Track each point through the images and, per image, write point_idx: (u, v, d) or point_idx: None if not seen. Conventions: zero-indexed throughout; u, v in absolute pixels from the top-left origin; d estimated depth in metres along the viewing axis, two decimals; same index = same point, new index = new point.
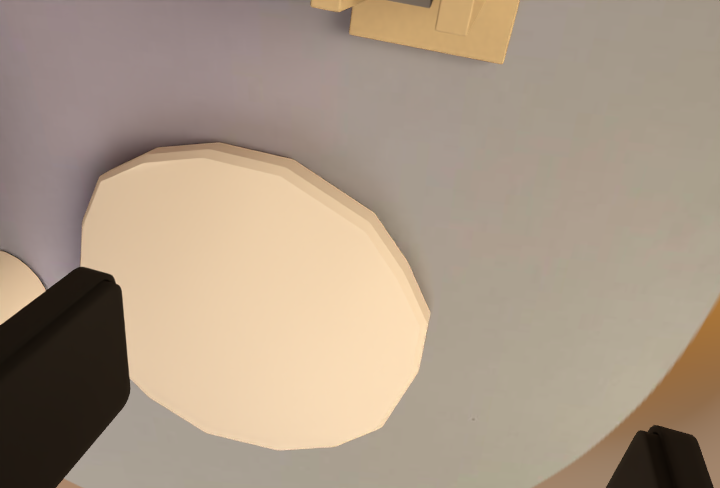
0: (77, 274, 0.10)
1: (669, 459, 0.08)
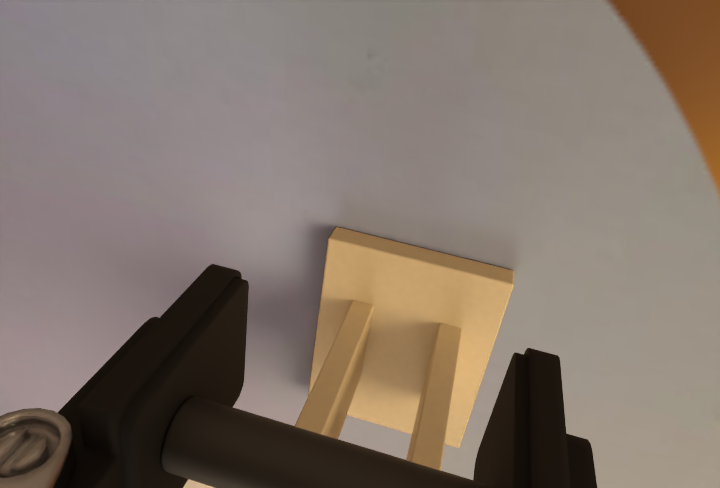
0: (212, 271, 0.10)
1: (530, 372, 0.09)
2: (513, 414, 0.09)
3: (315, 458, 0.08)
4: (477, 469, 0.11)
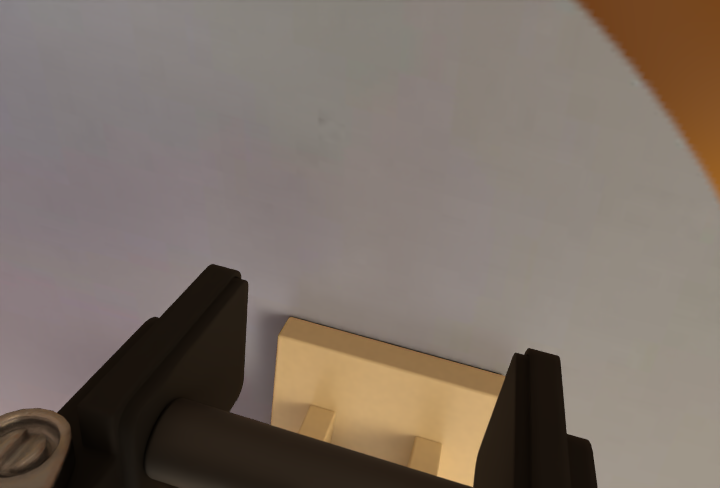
0: (212, 271, 0.10)
1: (531, 372, 0.09)
2: (514, 414, 0.09)
3: (315, 448, 0.08)
4: (477, 469, 0.11)
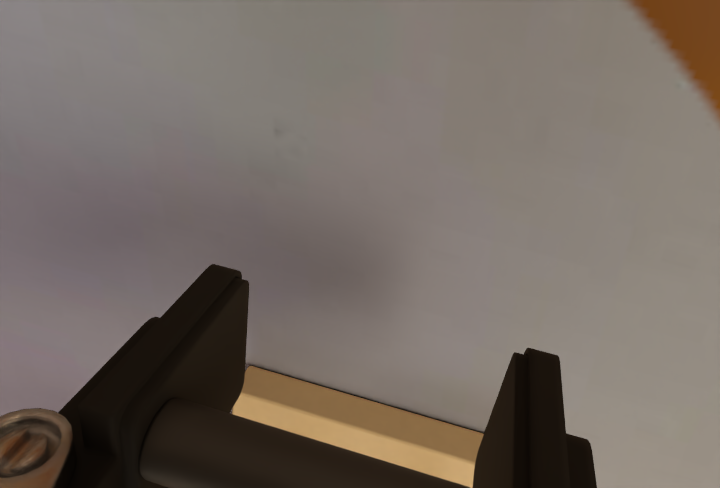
0: (212, 271, 0.10)
1: (530, 372, 0.09)
2: (513, 414, 0.09)
3: (317, 443, 0.08)
4: (477, 469, 0.11)
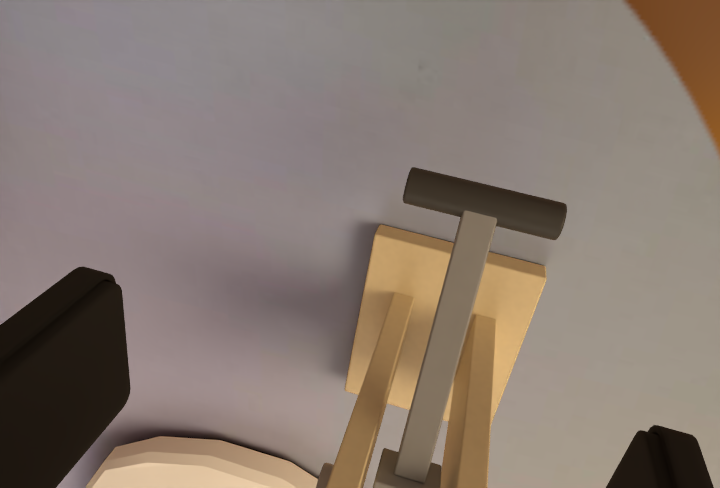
0: (77, 274, 0.10)
1: (669, 459, 0.08)
2: None
3: (481, 184, 0.18)
4: None
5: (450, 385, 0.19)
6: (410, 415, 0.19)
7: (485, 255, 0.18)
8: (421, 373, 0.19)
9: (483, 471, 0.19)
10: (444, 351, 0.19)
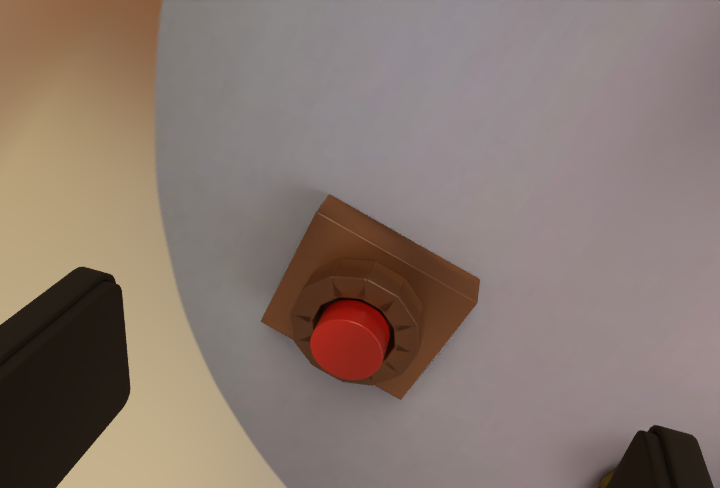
0: (77, 274, 0.10)
1: (669, 459, 0.08)
2: None
3: None
4: None
5: None
6: None
7: None
8: None
9: None
10: None
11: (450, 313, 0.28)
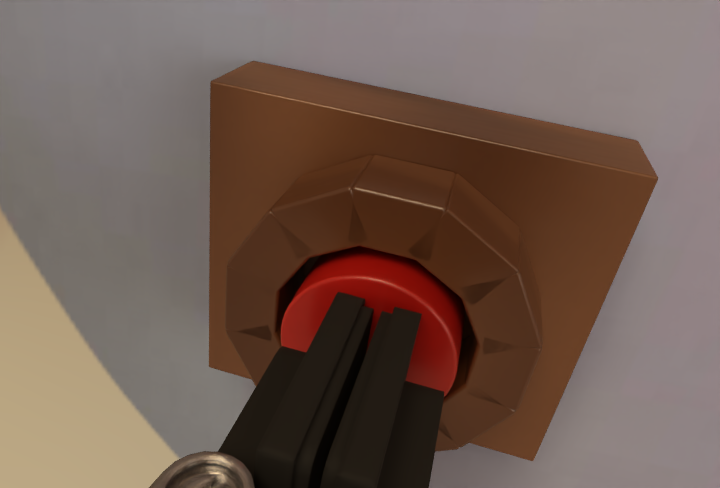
0: (341, 299, 0.10)
1: (388, 327, 0.10)
2: (362, 364, 0.09)
3: None
4: None
5: None
6: None
7: None
8: None
9: None
10: None
11: (593, 228, 0.11)
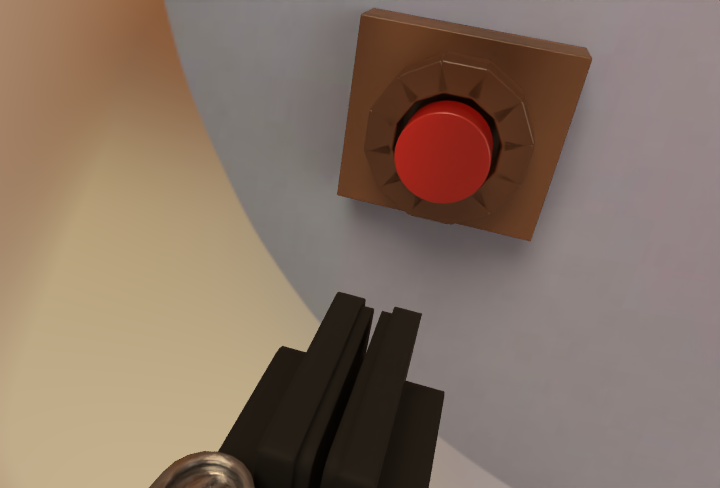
0: (341, 299, 0.10)
1: (389, 327, 0.10)
2: (363, 364, 0.09)
3: None
4: None
5: None
6: None
7: None
8: None
9: None
10: None
11: (561, 88, 0.22)
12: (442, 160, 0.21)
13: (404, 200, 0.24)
